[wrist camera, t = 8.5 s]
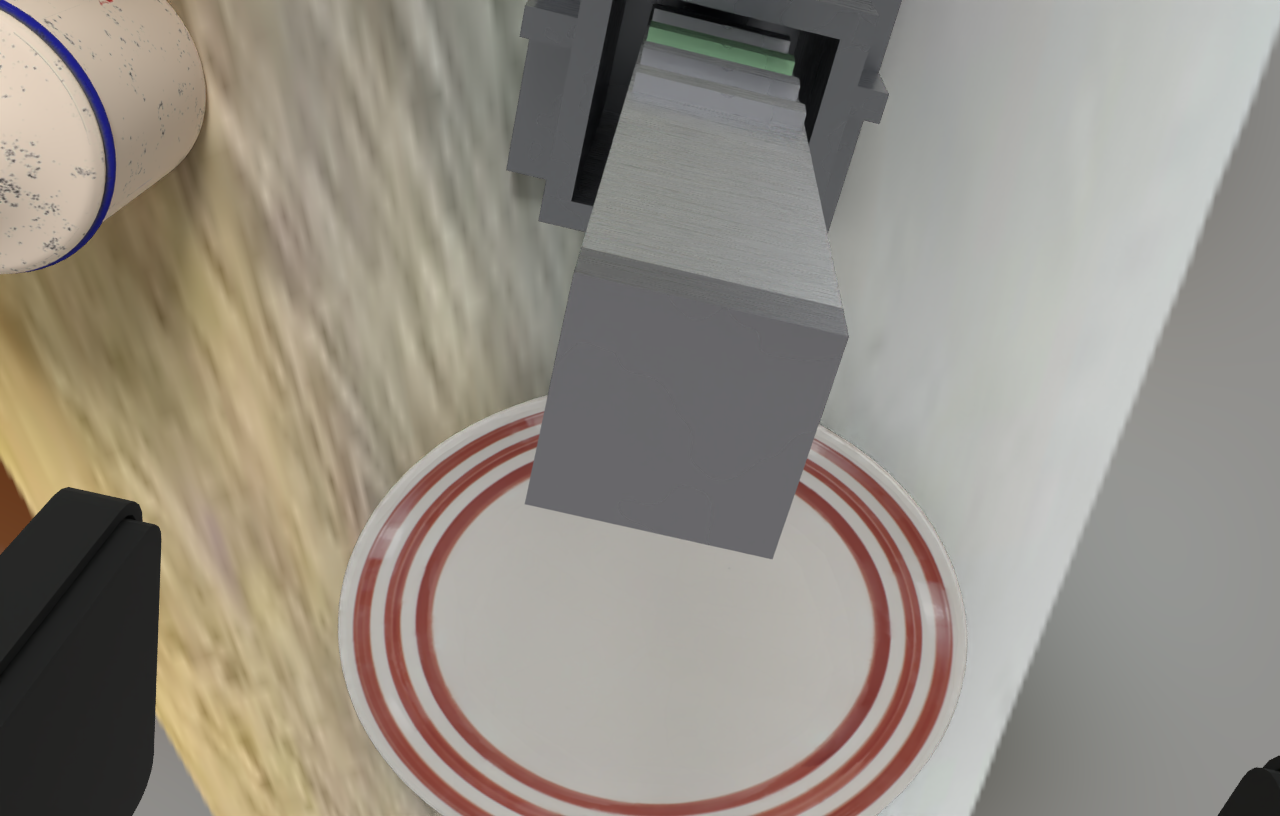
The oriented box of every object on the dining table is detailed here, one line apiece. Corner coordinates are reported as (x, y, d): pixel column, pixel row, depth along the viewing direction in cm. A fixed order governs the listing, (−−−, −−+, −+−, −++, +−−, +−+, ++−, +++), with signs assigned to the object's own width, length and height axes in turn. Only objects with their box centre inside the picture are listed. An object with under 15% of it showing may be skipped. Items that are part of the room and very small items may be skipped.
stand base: (573, -189, 39) (522, -170, 30) (926, -99, 40) (992, -52, 30) (511, 160, 45) (451, 273, 35) (821, 234, 46) (847, 365, 36)
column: (656, -11, 35) (579, 246, 17) (789, 21, 35) (857, 311, 17) (621, 146, 37) (520, 524, 19) (746, 176, 38) (765, 579, 19)
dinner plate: (671, 221, 46) (668, 252, 43) (1079, 650, 55) (1099, 701, 52) (236, 596, 56) (209, 642, 53) (638, 908, 65) (634, 963, 62)
